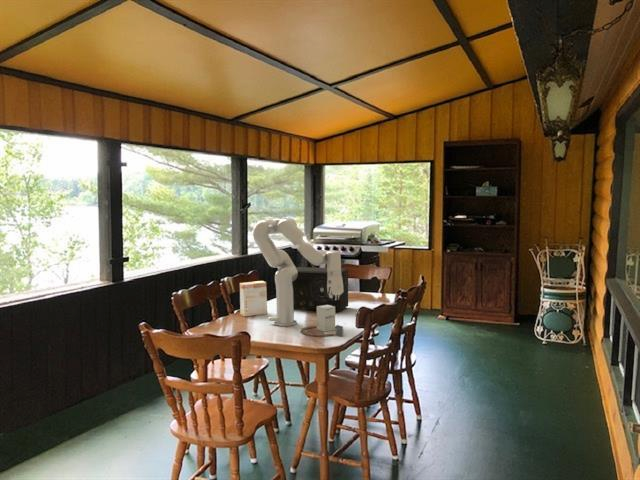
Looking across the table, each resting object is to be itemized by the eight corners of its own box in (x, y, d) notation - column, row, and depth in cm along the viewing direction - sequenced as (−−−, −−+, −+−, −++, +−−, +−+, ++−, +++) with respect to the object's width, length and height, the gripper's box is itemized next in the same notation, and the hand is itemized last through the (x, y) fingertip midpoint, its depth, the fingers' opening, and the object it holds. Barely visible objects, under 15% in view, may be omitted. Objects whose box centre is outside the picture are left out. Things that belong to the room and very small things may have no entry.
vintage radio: (282, 310, 339) (281, 270, 337) (294, 304, 357) (294, 266, 355) (339, 314, 326) (338, 272, 324) (349, 307, 344) (348, 268, 342)
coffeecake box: (263, 311, 335) (262, 280, 334) (267, 313, 329) (266, 282, 327) (240, 314, 328) (239, 282, 327) (244, 316, 322) (243, 284, 320)
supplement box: (324, 332, 283) (324, 308, 282) (316, 329, 288) (316, 306, 288) (335, 329, 287) (335, 306, 286) (327, 327, 293) (327, 304, 292)
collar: (326, 340, 266) (326, 330, 265) (292, 331, 285) (292, 321, 284) (357, 332, 281) (356, 322, 280) (322, 324, 300) (322, 315, 299)
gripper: (332, 275, 284) (334, 310, 285) (347, 272, 297) (348, 305, 298) (320, 275, 288) (322, 309, 290) (335, 271, 301) (336, 304, 302)
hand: (335, 307), depth 294 cm, fingers closed
